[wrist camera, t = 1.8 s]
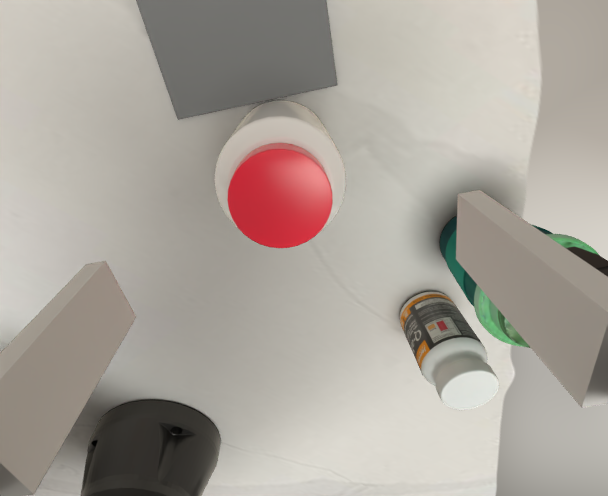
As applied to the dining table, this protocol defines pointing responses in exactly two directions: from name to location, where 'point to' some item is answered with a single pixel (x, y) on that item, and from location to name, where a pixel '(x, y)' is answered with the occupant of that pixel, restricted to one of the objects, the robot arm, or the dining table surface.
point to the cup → (480, 301)
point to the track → (238, 50)
